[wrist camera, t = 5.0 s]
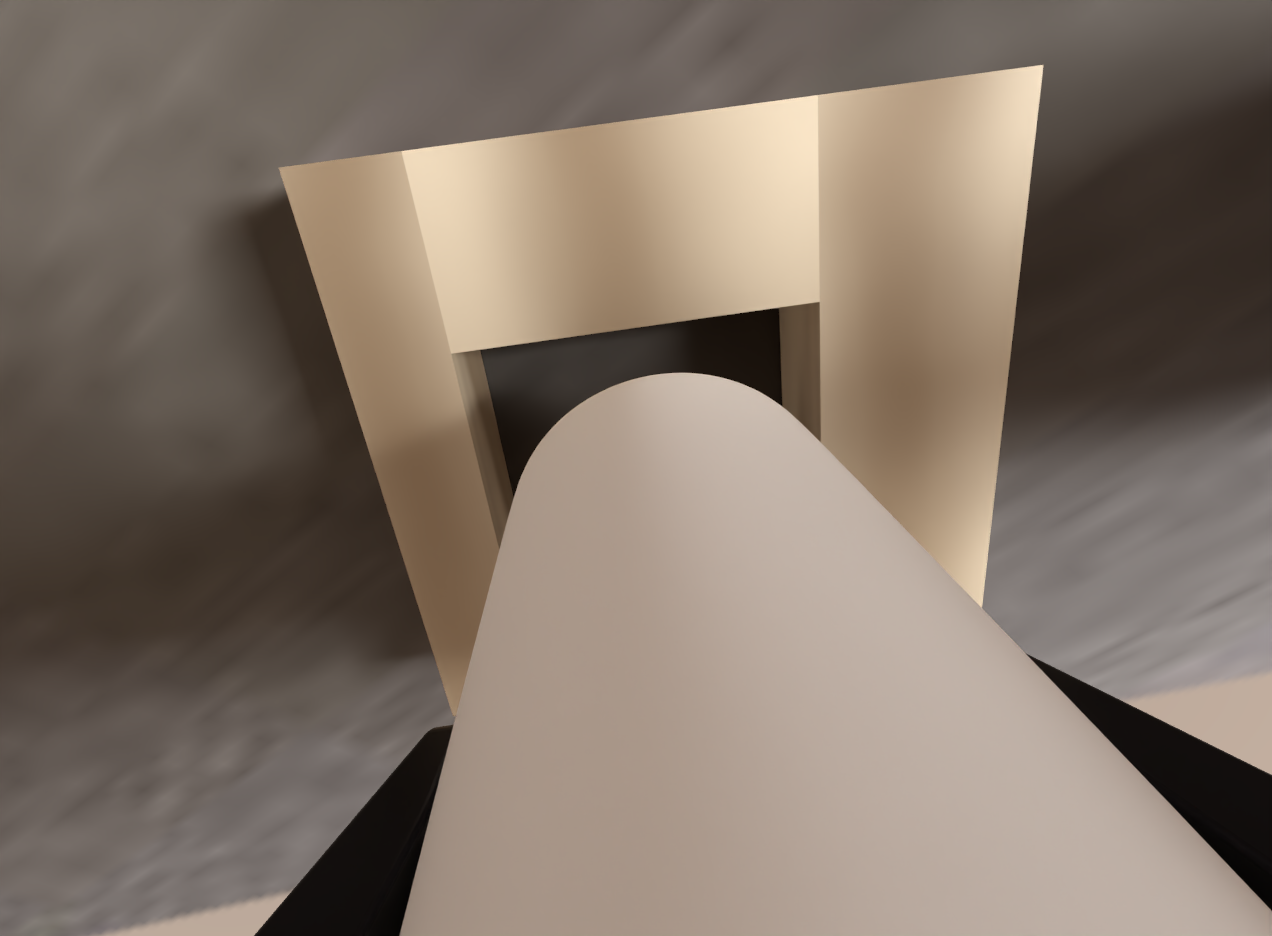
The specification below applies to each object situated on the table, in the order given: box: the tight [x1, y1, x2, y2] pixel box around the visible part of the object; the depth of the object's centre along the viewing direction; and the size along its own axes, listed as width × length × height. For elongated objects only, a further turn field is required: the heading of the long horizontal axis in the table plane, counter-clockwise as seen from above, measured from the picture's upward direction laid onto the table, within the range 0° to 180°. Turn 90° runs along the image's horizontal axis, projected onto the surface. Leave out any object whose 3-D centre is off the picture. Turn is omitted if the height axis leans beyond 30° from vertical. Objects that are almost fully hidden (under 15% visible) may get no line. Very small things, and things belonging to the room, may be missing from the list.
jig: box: [279, 65, 1043, 716], centre depth 15 cm, size 14×13×3 cm
